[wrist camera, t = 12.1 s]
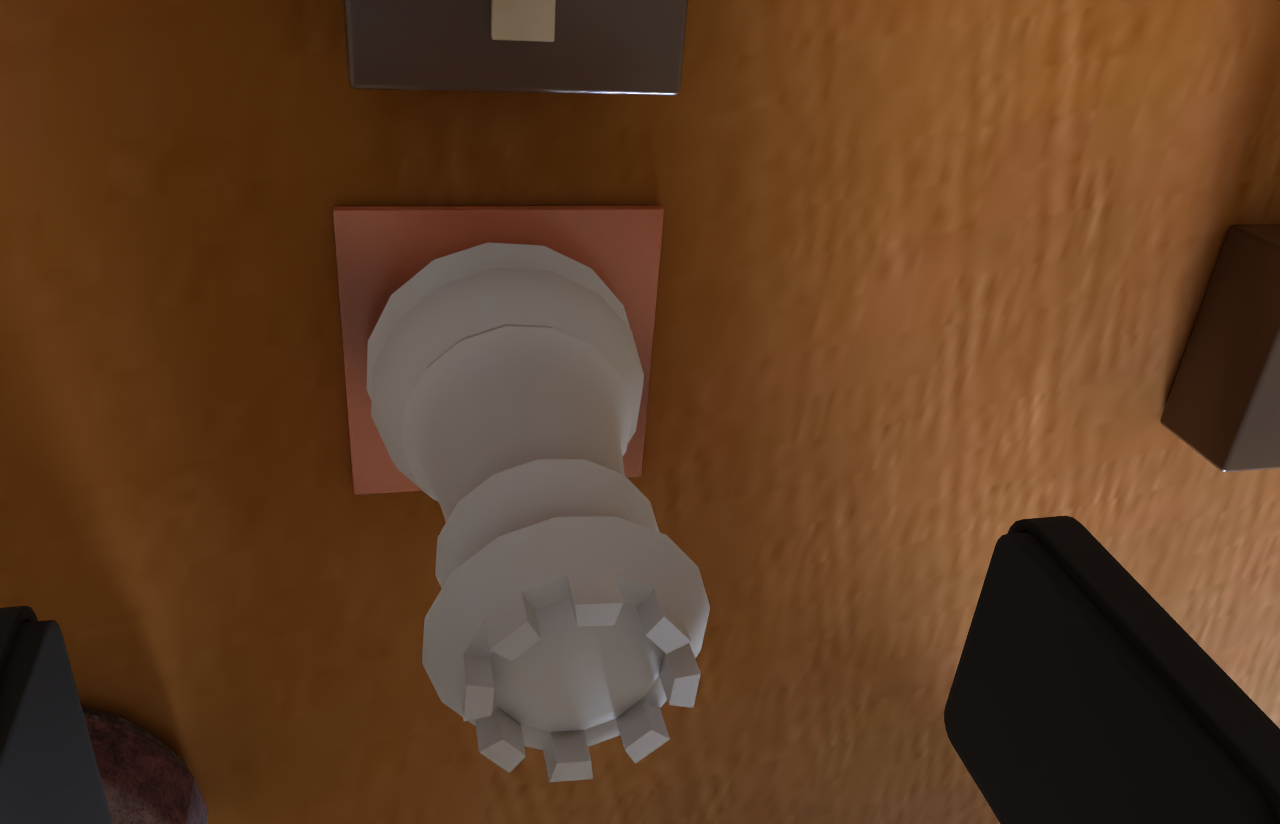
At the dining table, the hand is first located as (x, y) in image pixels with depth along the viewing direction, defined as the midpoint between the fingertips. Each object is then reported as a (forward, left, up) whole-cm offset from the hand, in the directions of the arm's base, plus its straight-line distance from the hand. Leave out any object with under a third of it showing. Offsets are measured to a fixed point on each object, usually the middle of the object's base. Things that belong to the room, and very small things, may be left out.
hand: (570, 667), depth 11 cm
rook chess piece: (+1, 0, -8) cm, 8 cm away
